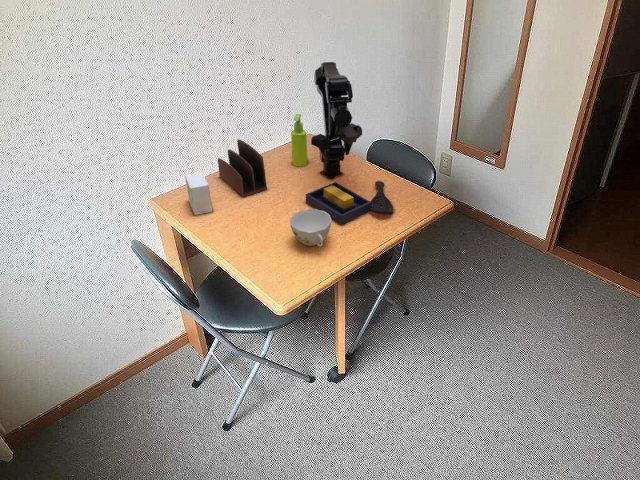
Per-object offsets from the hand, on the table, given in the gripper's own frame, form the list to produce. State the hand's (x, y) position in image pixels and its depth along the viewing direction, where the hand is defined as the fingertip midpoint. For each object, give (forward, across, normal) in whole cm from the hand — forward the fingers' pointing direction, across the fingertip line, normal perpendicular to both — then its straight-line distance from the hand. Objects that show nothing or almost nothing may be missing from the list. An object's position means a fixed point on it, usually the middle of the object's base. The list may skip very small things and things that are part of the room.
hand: (337, 158), depth 171 cm
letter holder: (+12, -24, +26) cm, 37 cm away
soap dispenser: (+12, +2, +25) cm, 28 cm away
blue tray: (+12, -8, -10) cm, 17 cm away
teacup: (+12, -28, -21) cm, 37 cm away
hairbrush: (+12, +6, -16) cm, 21 cm away
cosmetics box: (+12, -44, +21) cm, 50 cm away
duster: (+12, -8, -10) cm, 17 cm away
